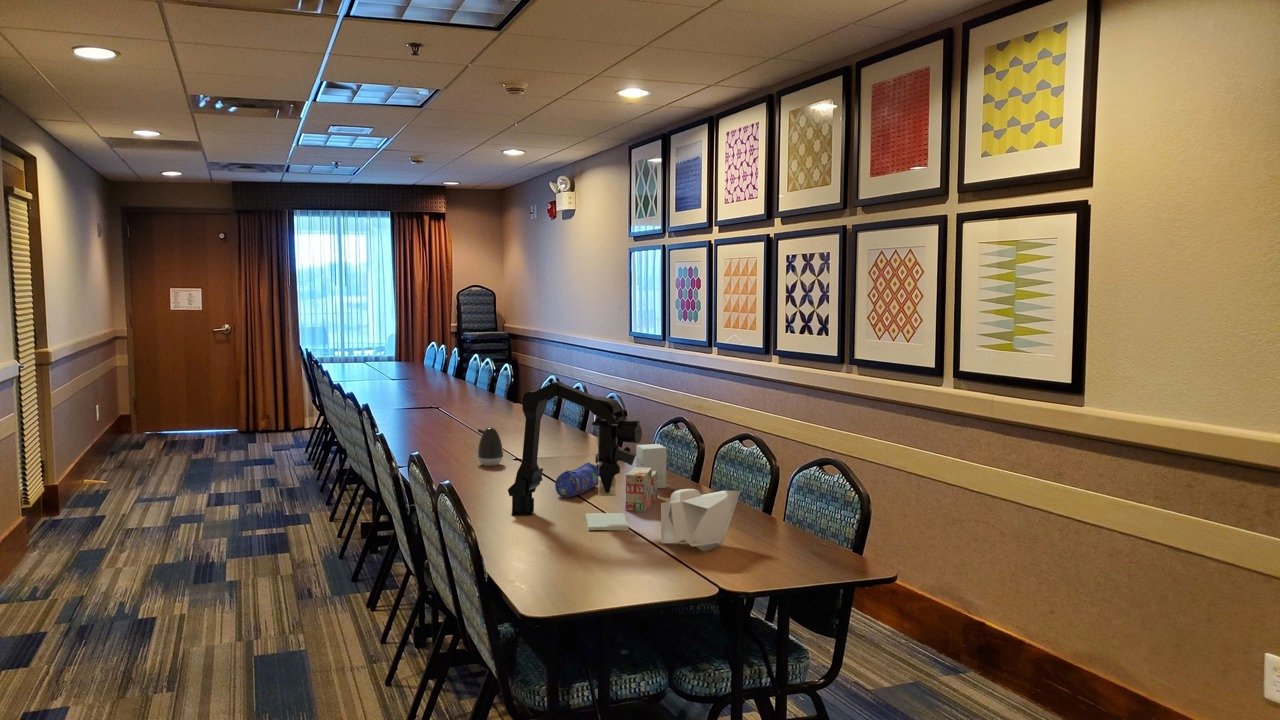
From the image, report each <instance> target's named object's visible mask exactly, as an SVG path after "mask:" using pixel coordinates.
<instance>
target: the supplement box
mask: <svg viewBox="0 0 1280 720" xmlns="http://www.w3.org/2000/svg"><path fill="white" fill-rule="evenodd" d="M635 448H636V450H635V453H636V454H635V467H643V468H652V471H657V488H659V489H667V447H666V446H663V445H662V444H659V443H652V444H651V443H650V444H636V447H635Z"/></svg>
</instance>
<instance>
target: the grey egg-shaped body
mask: <svg viewBox="0 0 1280 720" xmlns="http://www.w3.org/2000/svg"><path fill="white" fill-rule="evenodd" d="M477 432H478V433H479V434H481V436H480V440H479V443H478V447H477V458H478V461H479V463H480V464H481V465H483V466H485V467H495V466H499V464H500V463H502V459H503V457H504V450H503V449H504V448H503V444H502V439H501V437H500V435H499V432H498V431H497V429H495V428H493V427H486V429H483V430H482V429H480V428H478V429H477Z"/></svg>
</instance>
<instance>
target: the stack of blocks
mask: <svg viewBox="0 0 1280 720" xmlns="http://www.w3.org/2000/svg"><path fill="white" fill-rule="evenodd" d="M657 498H658V489H657V471H652V468H643V467H636V466H633V468H632V469H631V470H630V471H628V472H627V473H626V474H625V511H626V510H628V512H639V511H641V512H642V513H643V512H645V511H646V510H647V509H648V508H649V507H650V506H651V504H652V503H653V502H654V501H656V499H657ZM641 512H640V513H641Z"/></svg>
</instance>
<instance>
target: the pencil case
mask: <svg viewBox="0 0 1280 720" xmlns="http://www.w3.org/2000/svg"><path fill="white" fill-rule="evenodd" d="M596 465H597V464H596ZM596 465H595V464H594V463H591V462H586V463H584V464H582V465H580V466H579V467H577V468H575V469H573V470H569V469H567V470H565V471H563V472H561V474H559V475H558V476H557V478H556V480H555V484H554V486H555V491H556V493H557V494H558V495H559V497H561V498H563V497H569V498H573V497H575V496H577V495H578V496H579V495H581V494H583V493H586V492H587V491H589V490H592V488H596V487H598V476H600V475H599V472H598V469H597V466H596Z"/></svg>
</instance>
